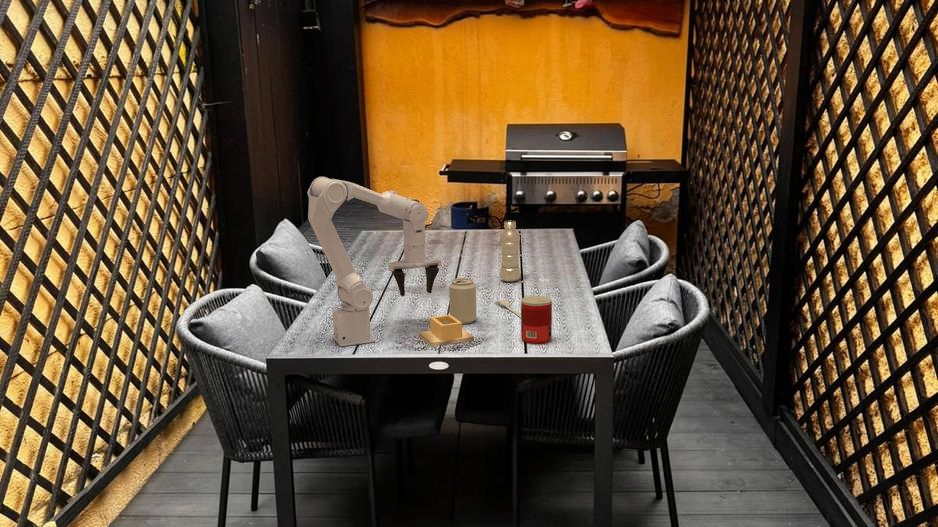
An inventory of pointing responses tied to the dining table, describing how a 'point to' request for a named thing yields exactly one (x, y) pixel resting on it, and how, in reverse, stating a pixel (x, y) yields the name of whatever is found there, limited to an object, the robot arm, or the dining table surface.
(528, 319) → the canned food
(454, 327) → the link
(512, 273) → the plastic bottle
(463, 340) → the wooden block with peg
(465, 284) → the can
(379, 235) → the dining table surface
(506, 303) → the fork
